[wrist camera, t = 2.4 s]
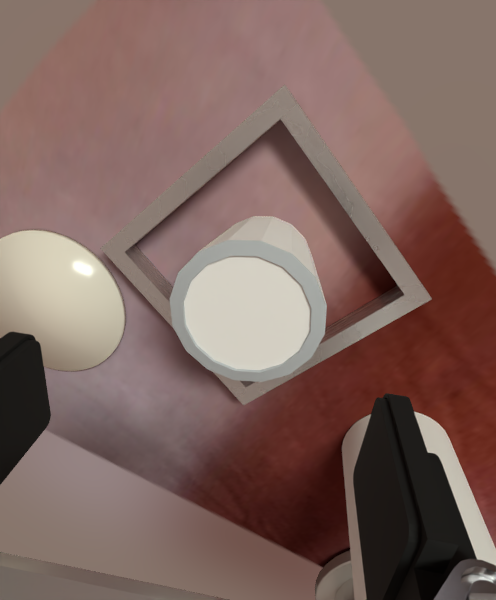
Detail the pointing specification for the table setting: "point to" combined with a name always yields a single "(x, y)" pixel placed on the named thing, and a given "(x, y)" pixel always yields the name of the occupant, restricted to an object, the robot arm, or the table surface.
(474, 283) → the table surface
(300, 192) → the table surface
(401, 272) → the holder collar
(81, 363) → the cream flat disc
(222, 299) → the white cup
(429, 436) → the cylindrical container
